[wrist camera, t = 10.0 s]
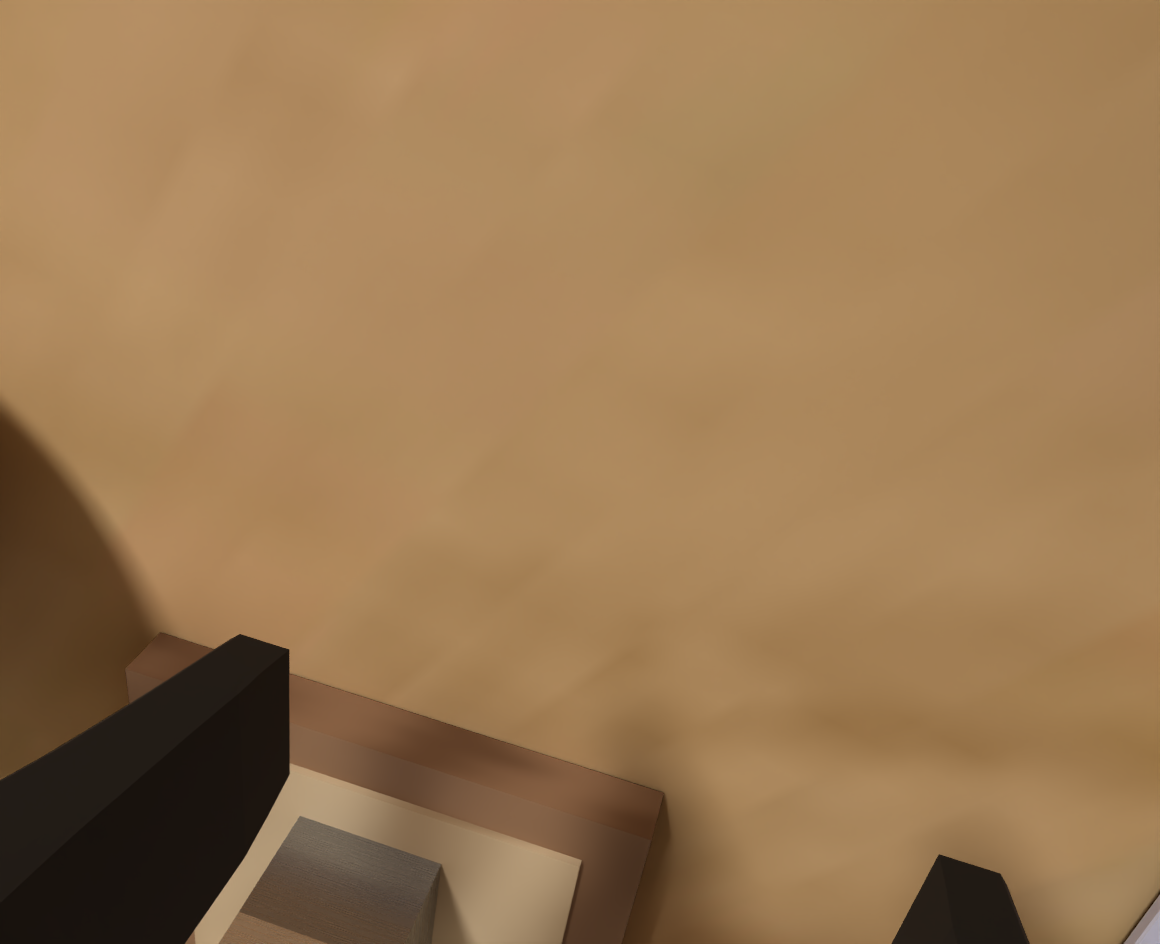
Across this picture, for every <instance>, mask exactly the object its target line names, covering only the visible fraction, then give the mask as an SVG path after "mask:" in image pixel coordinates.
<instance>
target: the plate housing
mask: <svg viewBox="0 0 1160 944" xmlns="http://www.w3.org/2000/svg"><path fill="white" fill-rule="evenodd" d="M440 871H441V864H440V863H437V862H434V861H431V860H428V859H425V858H422V857H419V856H416V855H414V854H411V853H408V852H405V851H402V850H399V849H396V848H393V847H390V846H387V845H384V844H381V843H378V842H375V841H372V840H370V839H367V838H364V837H361V836H358V835H355V834H352V833H349V832H346V831H343V830H340V829H337V828H334V827H331V826H328V825H326V824H323V823H320V822H317V821H314V820H311V819H308V818H305V817H302V816H299V818H298V819H297V821H296V823H295V824H294V826H293V827H292V829H291V830H290V832H289V834H288V835H287V837H286V838H285V840H284V841H283V843H282V845H281V846H280V848H279V849H278V851H277V852H276V854H275V856H274V857H273V859H272V860H271V862H270V863H269V865H268V867H267V868H266V870H265V871H264V873H263V874H262V876H261V878H260V879H259V881H258V882H257V884H256V885H255V887H254V889H253V890H252V892H251V893H250V895H249V897H248V898H247V900H246V901H245V903H244V904H243V906H242V908H241V909H240V911H239V912H238V914H237V915H236V917H235V919H234V920H233V922H232V923H231V925H230V926H229V928H228V930H227V931H226V933H225V934H224V936H223V937H222V939H221V941H220V942H219V944H432V936H433V928H434V920H435V911H436V903H437V895H438V887H439V879H440Z"/></svg>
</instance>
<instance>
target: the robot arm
mask: <svg viewBox="0 0 1160 944" xmlns="http://www.w3.org/2000/svg"><path fill="white" fill-rule="evenodd" d="M289 775H290V709H289V649H286V648H282V647H279V646H276V645H273V644H270V643H266V642H263V641H260V640H257V639H254V638H251V637H247V636H244V635H241V634H239V635H237V636H236V637H234V638H232V639H230V640H229V641H227V642H225V643H224V644H222V645H221V646H219V647H217V648H216V649H214V650H213V651H211V652H209V653H208V654H206V655H205V656H203V657H202V658H200V659H199V660H197V661H195V662H194V663H192V664H191V665H189V666H188V667H186V668H185V669H183V670H182V671H180V672H178V673H177V674H175V675H174V676H172V677H171V678H169V679H168V680H166V681H164V682H163V683H161V684H160V685H158V686H157V687H155V688H153V689H152V690H150V691H149V692H147V693H146V694H144V695H142V696H141V697H139V698H138V699H136V700H135V701H133V702H131V703H130V704H128V705H127V706H125V707H124V708H122V709H120V710H119V711H117V712H115V713H114V714H112V715H111V716H109V717H107V718H106V719H104V720H102V721H101V722H99V723H97V724H96V725H94V726H92V727H91V728H89V729H88V730H86V731H84V732H83V733H81V734H79V735H78V736H76V737H74V738H73V739H71V740H69V741H68V742H66V743H64V744H63V745H61V746H60V747H58V748H56V749H55V750H53V751H51V752H49V753H48V754H46V755H44V756H43V757H41V758H39V759H37V760H36V761H34V762H32V763H30V764H29V765H27V766H25V767H23V768H21V769H20V770H18V771H16V772H14V773H12V774H11V775H9V776H7V777H5V778H3V779H2V780H0V944H185V943H186V941H187V940H188V938H189V937H190V936H191V934H192V933H193V931H194V930H195V929H196V927H197V926H198V924H199V923H200V921H201V920H202V919H203V917H204V916H205V914H206V913H207V911H208V910H209V909H210V907H211V906H212V904H213V903H214V901H215V900H216V898H217V897H218V896H219V894H220V893H221V891H222V890H223V888H224V887H225V886H226V884H227V883H228V881H229V880H230V878H231V877H232V875H233V874H234V872H235V871H236V870H237V868H238V867H239V865H240V864H241V862H242V861H243V859H244V858H245V856H246V855H247V853H248V851H249V849H250V847H251V846H252V844H253V842H254V840H255V838H256V837H257V835H258V833H259V831H260V829H261V828H262V826H263V824H264V822H265V820H266V819H267V817H268V815H269V813H270V811H271V809H272V807H273V805H274V803H275V801H276V800H277V798H278V796H279V794H280V792H281V790H282V788H283V786H284V784H285V782H286V781H287V779H288V777H289ZM892 944H1029V941H1028V939H1027V936H1026V934H1025V931H1024V928H1023V926H1022V923H1021V921H1020V918H1019V916H1018V913H1017V910H1016V908H1015V905H1014V903H1013V900H1012V897H1011V895H1010V892H1009V890H1008V887H1007V884H1006V883H1005V881H1004V879H1003V878H1002V876H1001V874H1000V873H996V872H993V871H990V870H987V869H984V868H981V867H977V866H974V865H971V864H968V863H965V862H962V861H958V860H955V859H952V858H949V857H946V856H943V855H938V857H937V859H936V861H935V863H934V865H933V867H932V868H931V870H930V872H929V874H928V876H927V878H926V880H925V882H924V884H923V885H922V887H921V889H920V891H919V893H918V895H917V897H916V899H915V901H914V902H913V904H912V906H911V908H910V910H909V912H908V914H907V916H906V918H905V919H904V921H903V923H902V925H901V927H900V929H899V931H898V933H897V935H896V936H895V938H894V940H893V942H892ZM1124 944H1160V895H1159V896H1158V898H1157V899H1156V900H1155V902H1154V903H1153V904H1152V906H1151V907H1150V909H1149V910H1148V911H1147V913H1146V914H1145V915H1144V917H1143V918H1142V919H1141V921H1140V922H1139V923H1138V925H1137V926H1136V928H1135V929H1134V930H1133V932H1132V933H1131V934H1130V936H1129V937H1128V938H1127V940H1126V941H1125V943H1124Z"/></svg>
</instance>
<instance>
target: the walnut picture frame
mask: <svg viewBox="0 0 1160 944" xmlns="http://www.w3.org/2000/svg"><path fill="white" fill-rule="evenodd" d="M213 650H214V649H210V648H207V647H204V646H201V645H198V644H195V643H192V642H188V641H185V640H182V639H179V638H176V637H173V636H170V635H167V634H163V633H159V634H158V635H157V636H156V637H155V638H154V640H153V641H152V642H151V643H150V644H149V645H148V646H147V647H146V648H145V649H144V650H143V651H142V652H141V653H140V654H139V655H138V656H137V657H136V658H135V659H134V660H133V661H132V662H131V663H130V664H129V665H128V666H127V667H126V668H125V672H126V680H127V688H128V696H129V704H130V703H131V702H133V701H135V700H136V699H138V698H139V697H141V696H142V695H144V694H146V693H147V692H149V691H150V690H152V689H153V688H155V687H157V686H158V685H160V684H161V683H163V682H164V681H166V680H168V679H169V678H171V677H172V676H174V675H175V674H177V673H178V672H180V671H182V670H183V669H185V668H186V667H188V666H189V665H191V664H192V663H194V662H195V661H197V660H199V659H200V658H202V657H203V656H205V655H206V654H208V653H209V652H211V651H213ZM289 709H290V775H289V777H288V779H287V781H286V782H285V784H284V786H283V788H282V790H281V792H280V794H279V796H278V798H277V800H276V801H275V803H274V805H273V807H272V809H271V811H270V813H269V815H268V817H267V819H266V820H265V822H264V824H263V826H262V828H261V829H260V831H259V833H258V835H257V837H256V838H255V840H254V842H253V844H252V846H251V847H250V849H249V851H248V853H247V855H246V856H245V858H244V859H243V861H242V862H241V864H240V865H239V867H238V868H237V870H236V871H235V872H234V874H233V875H232V877H231V878H230V880H229V881H228V883H227V884H226V886H225V887H224V888H223V890H222V891H221V893H220V894H219V896H218V897H217V898H216V900H215V901H214V903H213V904H212V906H211V907H210V909H209V910H208V911H207V913H206V914H205V916H204V917H203V919H202V920H201V921H200V923H199V924H198V926H197V927H196V929H195V930H194V931H193V933H192V934H191V936H190V937H189V938H188V940H187V941H186V943H185V944H219V942H220V941H221V939H222V937H223V936H224V934H225V933H226V931H227V930H228V928H229V926H230V925H231V923H232V922H233V920H234V919H235V917H236V915H237V914H238V912H239V911H240V909H241V908H242V906H243V904H244V903H245V901H246V900H247V898H248V897H249V895H250V893H251V892H252V890H253V889H254V887H255V885H256V884H257V882H258V881H259V879H260V878H261V876H262V874H263V873H264V871H265V870H266V868H267V867H268V865H269V863H270V862H271V860H272V859H273V857H274V856H275V854H276V852H277V851H278V849H279V848H280V846H281V845H282V843H283V841H284V840H285V838H286V837H287V835H288V834H289V832H290V830H291V829H292V827H293V826H294V824H295V823H296V821H297V819H298V818H299V816H302V817H305V818H308V819H311V820H314V821H317V822H320V823H323V824H326V825H328V826H331V827H334V828H337V829H340V830H343V831H346V832H349V833H352V834H355V835H358V836H361V837H364V838H367V839H370V840H372V841H375V842H378V843H381V844H384V845H387V846H390V847H393V848H396V849H399V850H402V851H405V852H408V853H411V854H414V855H416V856H419V857H422V858H425V859H428V860H431V861H434V862H437V863H440V864H441V871H440V879H439V887H438V895H437V903H436V911H435V920H434V928H433V936H432V944H622V941H623V937H624V934H625V931H626V927H627V924H628V920H629V917H630V913H631V910H632V906H633V903H634V900H635V896H636V893H637V889H638V886H639V882H640V879H641V875H642V872H643V868H644V865H645V862H646V858H647V855H648V851H649V848H650V844H651V841H652V837H653V833H654V829H655V825H656V821H657V818H658V814H659V810H660V806H661V802H662V798H663V794H664V793H662V792H659V791H656V790H653V789H650V788H647V787H643V786H640V785H637V784H634V783H631V782H628V781H625V780H621V779H618V778H615V777H612V776H609V775H606V774H603V773H600V772H596V771H593V770H590V769H587V768H584V767H581V766H578V765H574V764H571V763H568V762H565V761H562V760H559V759H556V758H552V757H549V756H546V755H543V754H540V753H537V752H534V751H530V750H527V749H524V748H521V747H518V746H515V745H512V744H509V743H505V742H502V741H499V740H496V739H493V738H490V737H487V736H483V735H480V734H477V733H474V732H471V731H468V730H465V729H461V728H458V727H455V726H452V725H449V724H446V723H443V722H440V721H436V720H433V719H430V718H427V717H424V716H421V715H418V714H414V713H411V712H408V711H405V710H402V709H399V708H396V707H392V706H389V705H386V704H383V703H380V702H377V701H374V700H370V699H367V698H364V697H361V696H358V695H355V694H352V693H349V692H345V691H342V690H339V689H336V688H333V687H330V686H327V685H323V684H320V683H317V682H314V681H311V680H308V679H305V678H301V677H298V676H295V675H292V674H289Z"/></svg>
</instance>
